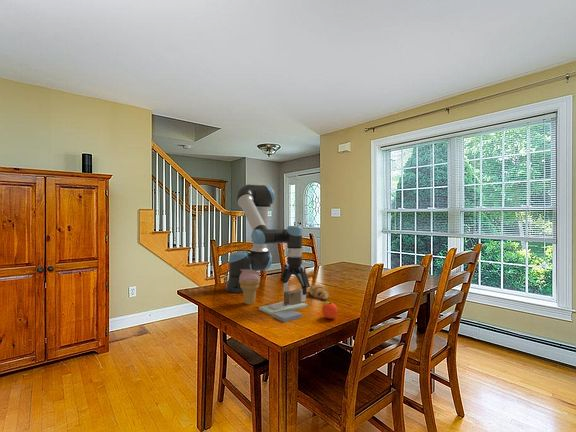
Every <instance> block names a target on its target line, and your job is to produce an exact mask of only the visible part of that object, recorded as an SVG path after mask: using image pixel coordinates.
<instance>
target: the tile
mask: <svg viewBox="0 0 576 432" xmlns="http://www.w3.org/2000/svg"><path fill="white" fill-rule="evenodd" d="M272 316H273V318H274V319H277V320H278V321H280V322H283V323H287V322H292V321H294V320H298V318H299V319H302V318H303V313H301V312H299V311H297V310H291V309H290V310H286V311H282V312H278V313H274V314H273V315H272Z"/></svg>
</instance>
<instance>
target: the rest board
mask: <svg viewBox="0 0 576 432" xmlns="http://www.w3.org/2000/svg"><path fill="white" fill-rule="evenodd" d="M281 302H282V301H280V302H279V303H281ZM276 303H277V302H276ZM276 303H274V304H276ZM272 304H273V303H271V304H270V305H272ZM268 305H269V304H267V305H263V306H262V305H261V306H258V310H259V311H260V312H261V311H262V312H263V313H265V314H268V315H270V316H273V314H274V313H278V312H282V311H286V310H290V309H291V310H294V311H297V310H299V309H303V308H306V307H309V306H308V303H305V302H304V303H299V304H295V305H292V306H290V307H286V308H282V309H278V310H274V309H272V308H269V307H268Z"/></svg>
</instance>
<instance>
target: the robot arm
mask: <svg viewBox="0 0 576 432" xmlns="http://www.w3.org/2000/svg"><path fill="white" fill-rule="evenodd" d="M235 200H236V203H237V205H238V206H239V208H241V209H242V211H243V213H244V215H245V218H246V220H247V222H248V224H249V226H250V228H251V230H252V232H251V233H250V234H251V235H250V237H251V242H252V247H251V248H250V252H249V251H248V250H238V251H234V252H232V253H230V254H229V255H228V278H227V281H226V286H225V291H226V292H228V293H234V294H235V293H236V294H238V293H243V290H242V288H241V287H240V286H241V284H240V283H239V277H240V274H241V273H242V271H241V270H250V264H251V269H252V270H254V271H257V272H263V271H267V270H269V269H270V268H271V266H272V262H273V256H272V253H271V252H270V251H269V248H268V247H267V245H271V244H272V245H273V244H274V245H275V244H286V246H287V247H286V248H287V249H286V251H287V252H286V253H287V254H286V255H287V257H286V258H287V259H286V264H284V265H283V266H284V267H283V270H282V274H281V276H280V278H279V279H280V282H282V283H283V284H282V289H283V293H284V292H287V291H290V290H289V280H290V278H291V276H292V275H293V276H295V277H296V278H297V279H298V282H299V285H301V286H300V290H301V302H302V301H304V302H305V301H307V298H306V297H307V288H311V285H310V282H309V278H308V274H307V272H306V267H305V266H303V267H301V265H302V264H303V257H302V256H303V228H302V226H300V225H288V226H287V228H278V229H277V228H276V229H275V228H274V229H273V228H272V229H269V228H268V218H269V217H268V215H269V209H270V208H271V207H272V206H271V205H273V204H274V203H275V191H274V189H273V188H272V186H270V185H267V184H266V185H265V184H263V185H262V184H245V185H243V186H241V187H240V188H239V189H238V191H237V192H236V197H235Z"/></svg>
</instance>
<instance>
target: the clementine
mask: <svg viewBox="0 0 576 432" xmlns="http://www.w3.org/2000/svg"><path fill="white" fill-rule="evenodd" d="M321 313H322V315H323V316H324V317H325V318H326V319H329V320H330V319H334V318H335V317H336V316H337V315H338V307H337V305H336V304H335V303H333V302H330V301H326V302H324V303H323V305H322V307H321Z"/></svg>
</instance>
